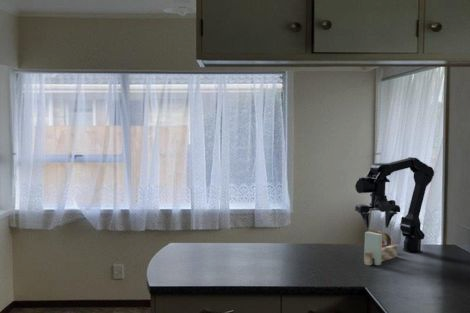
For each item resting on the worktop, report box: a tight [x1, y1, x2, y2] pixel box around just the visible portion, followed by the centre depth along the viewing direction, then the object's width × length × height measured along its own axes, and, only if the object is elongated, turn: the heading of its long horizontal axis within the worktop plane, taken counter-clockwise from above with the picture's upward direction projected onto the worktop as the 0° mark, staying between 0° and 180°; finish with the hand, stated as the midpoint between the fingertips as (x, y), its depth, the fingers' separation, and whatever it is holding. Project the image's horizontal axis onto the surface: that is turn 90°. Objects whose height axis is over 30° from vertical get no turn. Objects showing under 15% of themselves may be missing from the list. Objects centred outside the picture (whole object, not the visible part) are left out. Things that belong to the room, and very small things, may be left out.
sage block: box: [363, 231, 382, 266], centre depth 207 cm, size 2×6×12 cm, turn 42°
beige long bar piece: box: [364, 244, 398, 266], centre depth 212 cm, size 22×2×5 cm, turn 132°
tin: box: [366, 229, 392, 248], centre depth 232 cm, size 15×3×8 cm, turn 25°
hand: (377, 227), depth 220 cm, fingers open, 9 cm apart
